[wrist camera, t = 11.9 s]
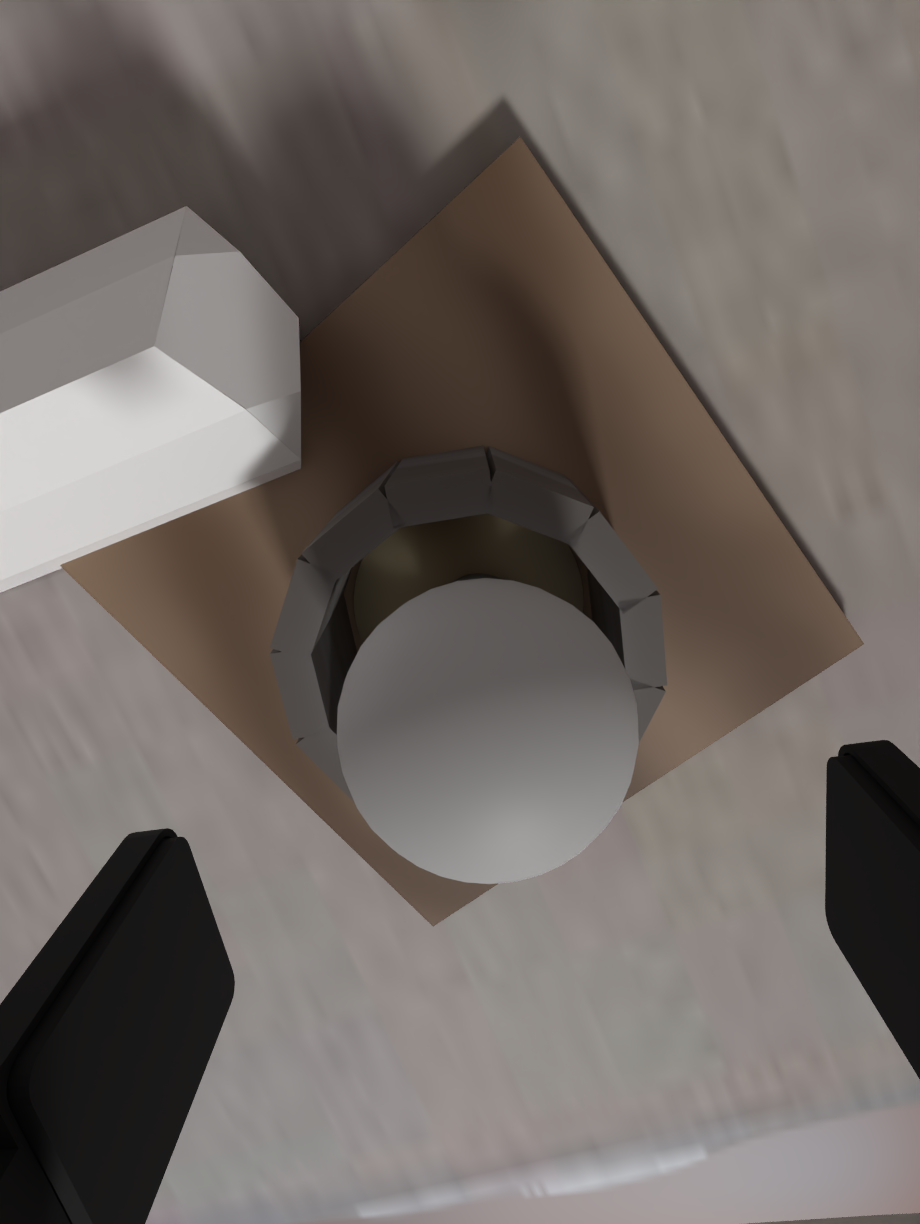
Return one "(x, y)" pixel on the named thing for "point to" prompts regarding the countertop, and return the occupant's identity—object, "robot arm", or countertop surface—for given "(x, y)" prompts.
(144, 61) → the countertop surface
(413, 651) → the lightbulb
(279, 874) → the countertop surface
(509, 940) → the countertop surface
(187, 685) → the socket
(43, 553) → the crystal
